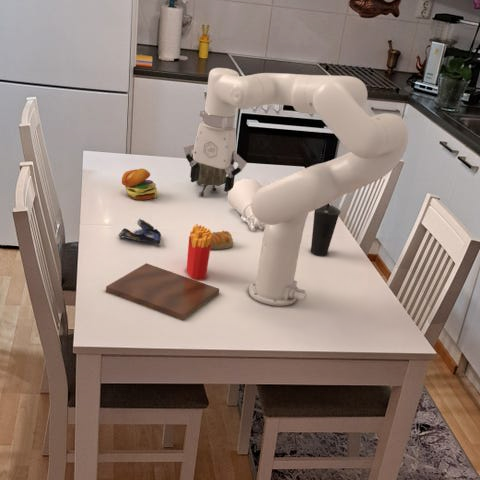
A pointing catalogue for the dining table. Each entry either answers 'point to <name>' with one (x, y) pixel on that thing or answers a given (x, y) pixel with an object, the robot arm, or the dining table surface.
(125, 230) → the snack package
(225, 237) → the pastry
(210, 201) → the dining table surface
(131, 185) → the cheeseburger
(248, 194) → the rocket engine
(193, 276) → the french fries
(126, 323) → the dining table surface
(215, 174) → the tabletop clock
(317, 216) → the drinking cup
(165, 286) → the cutting board
